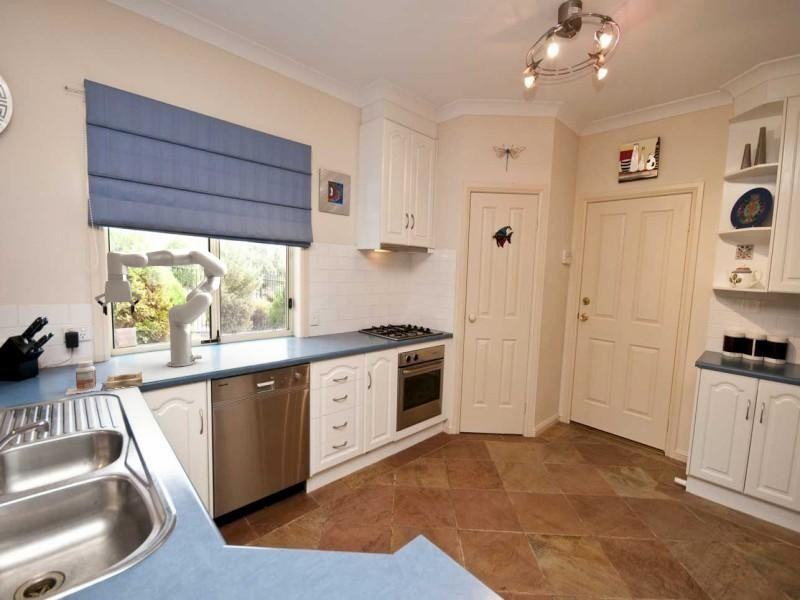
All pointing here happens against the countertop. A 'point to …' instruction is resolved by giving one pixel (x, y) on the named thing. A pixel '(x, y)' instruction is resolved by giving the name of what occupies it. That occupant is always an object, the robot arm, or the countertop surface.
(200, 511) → the countertop surface
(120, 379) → the holder block
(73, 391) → the cream pad
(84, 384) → the pill bottle
